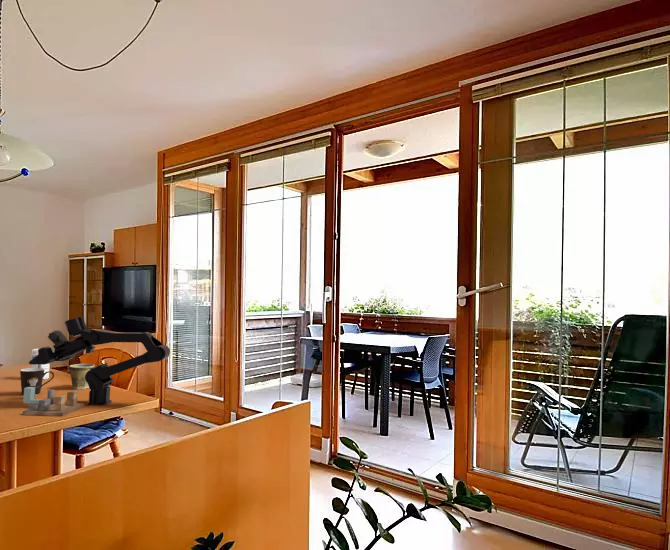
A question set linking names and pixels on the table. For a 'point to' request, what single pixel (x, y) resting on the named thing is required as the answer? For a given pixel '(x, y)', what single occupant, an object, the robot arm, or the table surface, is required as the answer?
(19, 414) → the table surface
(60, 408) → the block puzzle board
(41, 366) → the syrup box
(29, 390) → the teal l-shaped block
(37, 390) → the coffee mug
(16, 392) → the table surface
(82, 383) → the ceramic cup
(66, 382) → the table surface
